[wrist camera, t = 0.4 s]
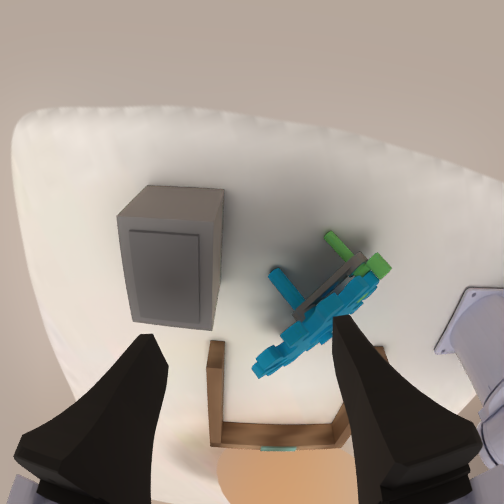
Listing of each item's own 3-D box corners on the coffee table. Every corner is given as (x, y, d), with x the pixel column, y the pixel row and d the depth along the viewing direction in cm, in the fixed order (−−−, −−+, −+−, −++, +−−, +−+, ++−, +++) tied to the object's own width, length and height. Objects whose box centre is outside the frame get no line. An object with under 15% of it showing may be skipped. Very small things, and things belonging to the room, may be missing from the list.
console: (224, 189, 19) (213, 224, 14) (220, 283, 22) (211, 333, 18) (143, 185, 19) (110, 217, 14) (150, 276, 22) (127, 323, 18)
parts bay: (382, 346, 26) (392, 372, 23) (338, 427, 33) (341, 449, 30) (210, 340, 25) (206, 369, 23) (212, 425, 33) (210, 447, 30)
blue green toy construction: (296, 369, 25) (236, 401, 16) (256, 316, 27) (182, 320, 18) (399, 280, 22) (397, 267, 13) (349, 227, 25) (316, 185, 16)
